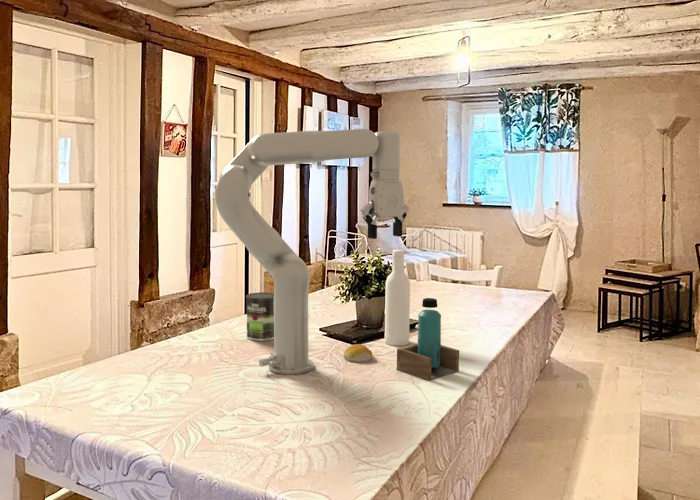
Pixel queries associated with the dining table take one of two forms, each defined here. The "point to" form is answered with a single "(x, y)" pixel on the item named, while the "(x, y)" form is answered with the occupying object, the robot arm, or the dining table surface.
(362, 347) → the bread roll
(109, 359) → the dining table surface
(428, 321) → the beverage bottle
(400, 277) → the bottle
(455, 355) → the u rest
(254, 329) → the coffee can
